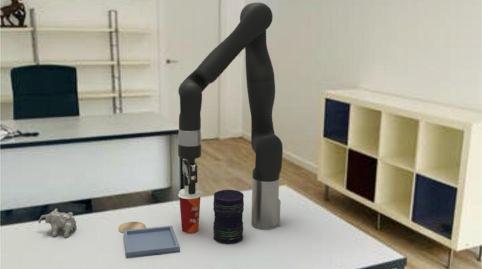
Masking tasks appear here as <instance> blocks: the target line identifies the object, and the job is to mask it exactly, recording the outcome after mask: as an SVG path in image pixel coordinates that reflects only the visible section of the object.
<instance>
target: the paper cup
mask: <svg viewBox="0 0 482 269" xmlns="http://www.w3.org/2000/svg"><path fill="white" fill-rule="evenodd" d="M201 196H202V193H201V190H200V189H198V188H195V194H189V193H188V187H185V188H182V189H180V190H179V192H178V197H179V210H180V224H181V231H182V233H184V234H195V233H197V232H199V226H200V225H199V224H200V213H201V211H200V210H201Z"/></svg>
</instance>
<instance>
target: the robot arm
mask: <svg viewBox="0 0 482 269" xmlns="http://www.w3.org/2000/svg"><path fill="white" fill-rule="evenodd" d="M273 18H274V17H273V12H272V9H271V8H270V7H269V5H267V4H266V3H262V2H252V3H248V4H246V5H245V6H244V7H242V10H241V11H240V15H239V23H238V24H237V25H236V27H235V28H234V29H233V31H231V32H230V34H228V36H227V37H225V39H223V41H221V42H220V43H219V44H218V45H217V46H216V47H214V48H213V49H212V51H211V52H210V53H209V54H208V55H207V56H206V57H205V58H204V59H203V60H202V62H201V63H200V64H199V65H198V66H197V67H196V68H195V69H194V70H193V71H192V72H191V73H190V74H189V75H187V77H186V78H185V79H184V80H183V81H182V82H181V83H180V84H179V86H178V91H177V92H178V95H179V107H180V108H179V116H178V134H177V135H178V136H177V155H178V157H179V158H180V159H182V165H181V167H182V169H181V171H182V174H183V185H184V186H185V187H187V188H188V193H189V194H195V188H196V187H197V186H196V184H198V182H199V180H198V164H197V162H196V159H199V158H201V157H202V130H201V128H202V125H201V124H202V123H201V122H202V119H201V117H202V116H201V112H202V104H203V92H204V91H205V89H206V88H207V87H209V85H210V84H212V83H214V82H215V81H216V80H217V79H218V78H220V77H221V75H222V74H223V73H224V71H225V70H226V69H227V68H228V67H229V66H230V64H232V62H234V60H235V59H236V58H237V57H238V55H239V54H240V53H241V52H242V51H243V50H244V51H245V56H244V58H245V59H244V60H245V78H246V88H247V89H246V91H247V97H248V105H249V110H250V111H249V112H250V118H251V121H250V122H251V124H250V125H251V127H250V128H251V129H250V130H251V131H250V132H251V133H250V134H251V136H250V139H251V140H250V141H251V142H250V145H251V149H252V151H253V152H254V154H255V162H254V168H253V170H252V177H251V178H252V180H251V182H252V183H251V185H252V187H251V226H252V227H253V228H256V229H258V230H271V229H272V230H273V229H275V228H277V227H280V226H281V225H280V224H281V223H280V222H281V199H280V197H279V196H280V195H279V194H280V193H279V192H280V174H281V172H282V167H283V154H284V153H283V143H282V142H283V141H282V140H281V138H280V137H279V136H277V134H275V128H274V122H273V121H274V120H273V109H274V104H275V99H276V80H275V79H276V78H275V70H274V67H273V63H272V60H271V57H270V53H269V51H268V50H269V49H268V45H267V29H269V28H270V26H271V25H272V22H273ZM196 189H197V188H196Z"/></svg>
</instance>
